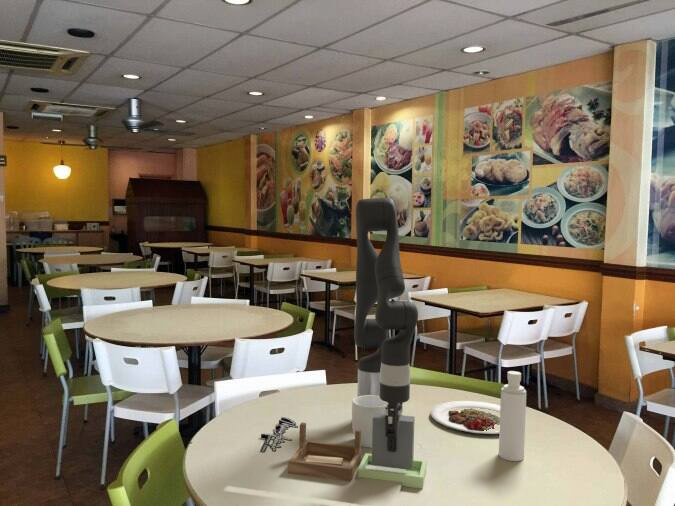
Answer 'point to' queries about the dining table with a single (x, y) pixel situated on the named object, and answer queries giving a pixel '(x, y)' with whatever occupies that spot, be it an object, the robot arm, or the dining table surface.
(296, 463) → the tray
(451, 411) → the plated food
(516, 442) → the white bottle
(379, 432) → the gray rectangular block
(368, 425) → the mug
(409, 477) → the holder
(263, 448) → the nameplate
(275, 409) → the dining table surface
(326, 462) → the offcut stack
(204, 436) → the dining table surface
